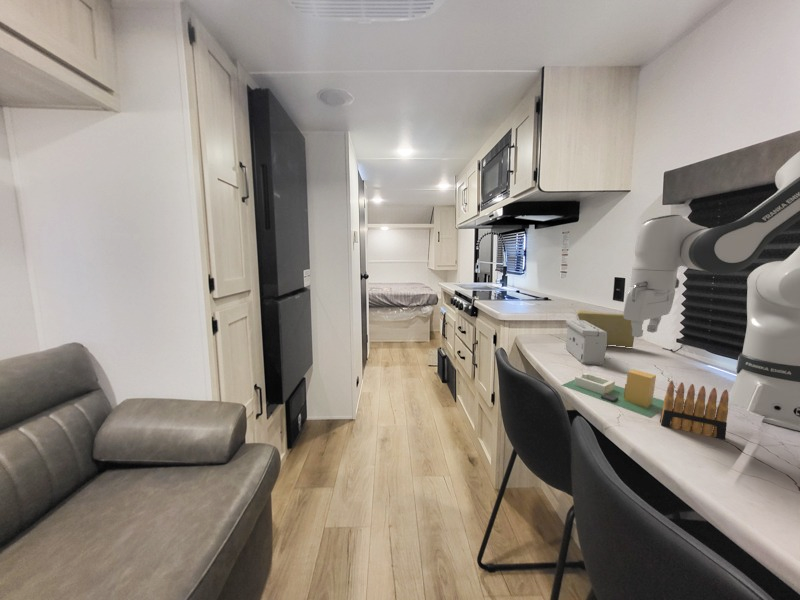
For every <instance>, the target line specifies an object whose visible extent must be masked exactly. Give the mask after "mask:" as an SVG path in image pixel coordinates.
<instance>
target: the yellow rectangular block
mask: <svg viewBox="0 0 800 600" xmlns="http://www.w3.org/2000/svg"><path fill="white" fill-rule="evenodd" d="M656 379H657V374H652V373H650V372H645V371H641V370H637V369H634V368H633V369H631V370H629V371H627V377H626V383H625V386H624V388H625V391H624V398H625V399H624V400H626V401H629V402H632V403H635V404H637V405H640V406H643V407H646V408H647V407H649V406H650V405H652V401H653V397H654V393H655V385H656Z"/></svg>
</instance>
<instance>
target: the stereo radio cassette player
mask: <svg viewBox="0 0 800 600" xmlns="http://www.w3.org/2000/svg"><path fill="white" fill-rule="evenodd" d="M570 305H571V307H572V309H573V311H574V313H575V315H576V319H565V324H566V325H567V329H566V338H565V340H566V341H565V350H567V351H568V352H569V353H570V354H572V356H574V357H575V358H576V359H577V361H579V362H580V363H581V364H582V363H583V365H584V364H585V365H586V364H587V365H597V366H600V365H602V364H604V362H605V357H606V352H607V346H606V345H607V332H605V331H603V330H602V329H600V328H598V327H596V326H594V325H592V324H590V323H588V322H586V321H584V320H579V317H578V315H577V312H576V310H575V307H574V305H573V303H571V304H570ZM577 318H578V320H577Z"/></svg>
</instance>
